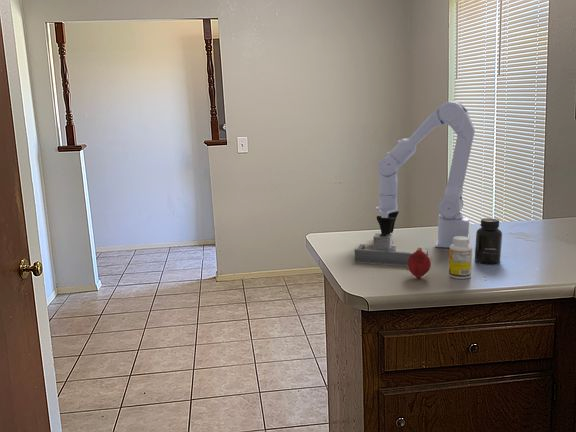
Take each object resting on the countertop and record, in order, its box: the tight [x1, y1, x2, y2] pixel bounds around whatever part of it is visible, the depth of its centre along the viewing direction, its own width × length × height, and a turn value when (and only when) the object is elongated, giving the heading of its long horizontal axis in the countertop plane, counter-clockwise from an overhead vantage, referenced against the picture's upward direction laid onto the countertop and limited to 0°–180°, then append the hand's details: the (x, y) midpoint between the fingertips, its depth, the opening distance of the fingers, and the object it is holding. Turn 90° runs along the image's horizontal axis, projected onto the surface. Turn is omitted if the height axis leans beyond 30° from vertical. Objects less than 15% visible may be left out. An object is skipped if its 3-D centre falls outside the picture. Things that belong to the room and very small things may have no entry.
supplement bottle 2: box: [474, 217, 503, 265], centre depth 157 cm, size 7×7×12 cm
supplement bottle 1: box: [448, 236, 473, 280], centre depth 144 cm, size 6×6×10 cm
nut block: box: [372, 233, 393, 251], centre depth 174 cm, size 5×5×4 cm
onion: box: [407, 247, 432, 279], centre depth 144 cm, size 6×6×8 cm
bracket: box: [353, 243, 429, 267], centre depth 160 cm, size 20×10×4 cm, turn 72°
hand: (387, 235), depth 184 cm, fingers open, 7 cm apart
